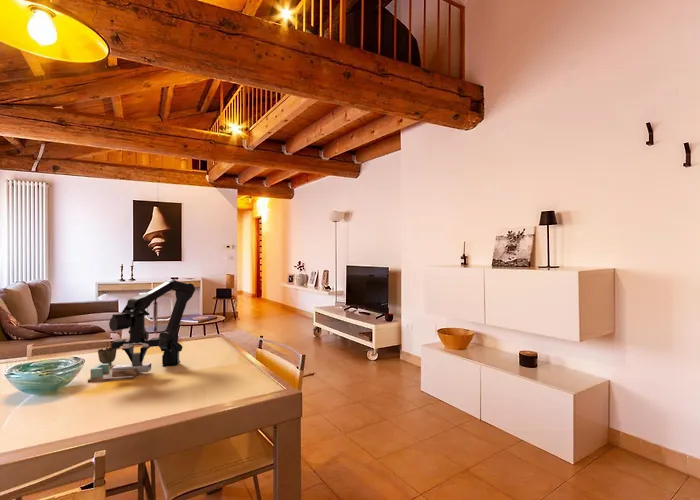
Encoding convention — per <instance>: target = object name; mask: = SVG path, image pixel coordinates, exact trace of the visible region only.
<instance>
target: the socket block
mask: <svg viewBox="0 0 700 500" xmlns="http://www.w3.org/2000/svg"><path fill="white" fill-rule="evenodd" d="M109 370H110V366H109V364H103V363H99V364H97V365H95V366H94V367H92V368H91V369H90V378H96V377H102V376H103V373H108V372H109Z"/></svg>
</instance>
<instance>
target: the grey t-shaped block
mask: <svg viewBox="0 0 700 500" xmlns="http://www.w3.org/2000/svg"><path fill="white" fill-rule="evenodd" d="M130 369H137V373H140V374H141V373H149V372H150V371H152V362H145V363H144V362H142V363H141V362H140V352H134V354H132V362H131V363H128V364H115V365H114V366H113V367H111V370H112V371H114V370H130Z"/></svg>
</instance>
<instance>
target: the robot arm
mask: <svg viewBox="0 0 700 500" xmlns="http://www.w3.org/2000/svg"><path fill="white" fill-rule="evenodd" d="M170 291H175V294H174V295H175V302H174V305H173V308H172V312H171V314H170V317H169V320H168V322H167V323H168V324H167V326H166V329H164V331H160V332H159V335H158V337H151V338H150V336H149V335H150V332H149V331H147V330H146V327H145V326H146V325H145V323H146V322H145V321H146V320H145V317H146V316H150V312H148V311H147V310H146V309H148V308H149V307H150V306H151V304H152V303H153V302H154V301H155V300H157V299H159V298H161V297H162V296H164V295H165V294H167V293H169V292H170ZM195 292H196V287H195V285H194V284H193V283H191V282H187V283H186V282H183V281H179V280H176V279H167V280H166V281H165V282H163V283H161V284H160V285H158V286H156V287H155V288H153V289H151V290H149V291H148V292H146V293H142V294H140V295H136V296H133V297H131V298H129V299H128V300H127V303H126V305H125V307H124V308H123V309H122V311H121V313H114V314H112V316H111V317H110V320H109V322H108V326H109V329H110V330H111V331H112V332H116V331H122V330H126V329H128V334H129V339H128V341H127V339H126V338H125V339H124V338H122V339H116V340H114V341H112V342H111V343H110V347H111V349H117V350H118V349H120V348H121V347H122V349H121V350H122V351H124V352H125V353H126V355H127V357H128V359H129V360H130V362H131V363H132V354H134V353H135V352H134V348H135V346H141V347H140V352H139V353H140V362H141V363H144V362H143V361H144V359H145V356H146V353H147V351H148V349H149V348H151V347H158V348H160V352H163V354H162V355H161V362H162V366H161V367H171V366H178V365H179V364H180V363H181V360H180V352H182V351H183V345H182V344H181V343H179V333H178V331H179V327H180V324H181V321H182V318H183V315H184V313H185V309H186V306H187V303H188V302H189V300H191V298H192V297H193V295H195V294H194V293H195ZM149 338H150V339H149Z"/></svg>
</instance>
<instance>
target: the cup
mask: <svg viewBox="0 0 700 500" xmlns="http://www.w3.org/2000/svg"><path fill="white" fill-rule="evenodd" d="M117 350H118V349H111V346H110V347H105V349H103V348H100V349H98V350H97V354H98V361H99V362H100V364H109V367H111V366H112V365H113V362H115V359H116V356H117Z"/></svg>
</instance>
